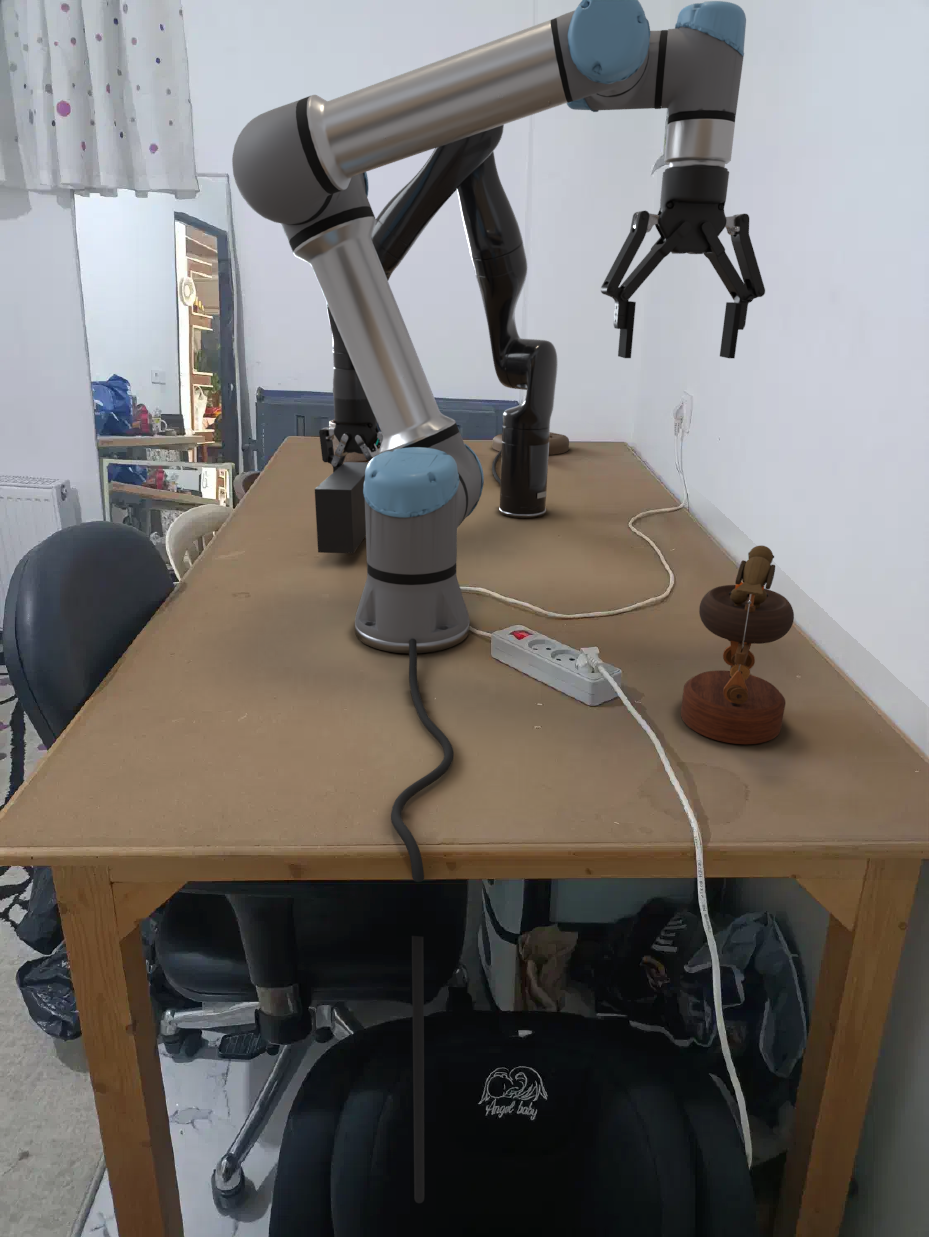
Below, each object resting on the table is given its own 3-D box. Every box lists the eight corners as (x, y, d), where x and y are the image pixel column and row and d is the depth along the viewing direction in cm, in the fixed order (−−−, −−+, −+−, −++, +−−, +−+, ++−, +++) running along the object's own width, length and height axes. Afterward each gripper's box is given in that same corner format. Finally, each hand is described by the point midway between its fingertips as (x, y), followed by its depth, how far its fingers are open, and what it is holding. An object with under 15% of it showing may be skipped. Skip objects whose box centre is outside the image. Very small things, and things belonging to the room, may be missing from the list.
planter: (327, 456, 217) (325, 418, 214) (369, 454, 220) (368, 417, 217) (334, 465, 208) (332, 425, 204) (377, 463, 211) (376, 424, 207)
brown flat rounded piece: (498, 464, 212) (499, 447, 210) (490, 443, 238) (490, 428, 236) (581, 464, 213) (583, 447, 211) (564, 443, 239) (565, 428, 237)
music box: (801, 756, 85) (818, 567, 77) (689, 756, 86) (695, 570, 79) (768, 687, 99) (780, 521, 91) (672, 688, 100) (676, 525, 93)
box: (353, 553, 137) (350, 489, 133) (318, 552, 137) (314, 489, 134) (377, 518, 158) (376, 462, 155) (347, 517, 159) (344, 462, 155)
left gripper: (780, 174, 103) (754, 354, 111) (583, 166, 100) (571, 354, 108) (812, 167, 97) (783, 360, 105) (603, 159, 93) (589, 360, 101)
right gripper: (401, 394, 149) (402, 487, 155) (328, 389, 153) (332, 480, 159) (383, 399, 142) (385, 496, 148) (308, 394, 146) (313, 489, 153)
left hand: (676, 357), depth 106 cm, fingers open, 13 cm apart
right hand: (358, 487), depth 154 cm, fingers closed on box, 6 cm apart
